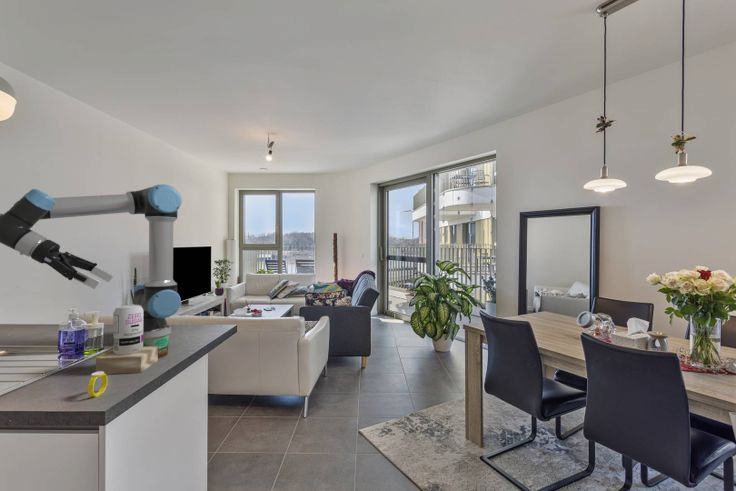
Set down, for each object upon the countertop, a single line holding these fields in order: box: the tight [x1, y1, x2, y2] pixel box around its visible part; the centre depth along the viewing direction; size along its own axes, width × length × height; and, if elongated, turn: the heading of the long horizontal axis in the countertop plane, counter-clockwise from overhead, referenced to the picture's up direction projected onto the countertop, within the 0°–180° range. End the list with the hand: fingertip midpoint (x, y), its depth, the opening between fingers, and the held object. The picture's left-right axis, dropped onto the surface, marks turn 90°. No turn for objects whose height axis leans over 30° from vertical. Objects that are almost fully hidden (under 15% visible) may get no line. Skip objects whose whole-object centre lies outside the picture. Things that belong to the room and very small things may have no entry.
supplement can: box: [112, 304, 143, 355], centre depth 117 cm, size 8×8×15 cm
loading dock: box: [95, 346, 159, 375], centre depth 117 cm, size 12×13×5 cm
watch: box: [87, 371, 109, 398], centre depth 96 cm, size 6×3×6 cm, turn 4°
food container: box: [143, 324, 172, 359], centre depth 129 cm, size 12×6×10 cm, turn 168°
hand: (104, 281), depth 123 cm, fingers open, 13 cm apart
